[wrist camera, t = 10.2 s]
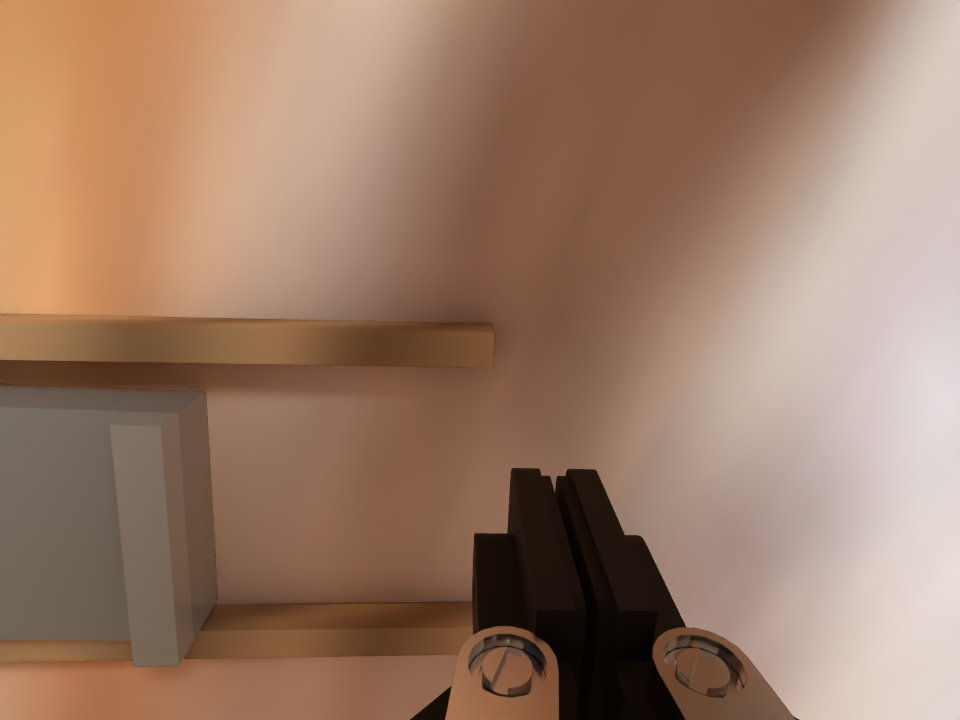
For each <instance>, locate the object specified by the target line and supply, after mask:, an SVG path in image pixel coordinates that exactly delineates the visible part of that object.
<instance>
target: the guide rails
mask: <svg viewBox="0 0 960 720" xmlns="http://www.w3.org/2000/svg"><path fill="white" fill-rule="evenodd" d="M494 343H495V331H494V329H493V327H492V324H464V323H417V322H370V321H323V320H275V319H228V318H181V317H134V316H87V315H40V314H0V360H44V361H105V362H166V363H228V364H289V365H351V366H412V367H474V368H494ZM471 636H473V618H472V602H468V603H370V604H273V605H214V607H213V608H212V610H211V612H210V614H209V615H208V617H207V619H206V621H205V622H204V624H203V626H202V628H201V629H200V631H199V633H198V634H197V636H196V638H195V640H194V641H193V643H192V645H191V647H190V648H189V650H188V652H187V654H186V655H185V657H184V659H216V658H278V657H340V656H402V655H459V653H460V650H461V648H462V646H463V644H464V643H465V642H466V641H467V640H468V639H469V638H470V637H471ZM93 660H133V657H132V647H131V641H107V640H0V662H31V661H93Z"/></svg>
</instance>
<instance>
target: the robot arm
mask: <svg viewBox="0 0 960 720" xmlns="http://www.w3.org/2000/svg"><path fill="white" fill-rule="evenodd" d="M472 618H473V636H471V637H470V638H469V639H468V640H467V641H466V642H465V643H464V644H463V646H462V648H461V650H460V653H459V655H458V658H457V663H456V668H455V673H454V678H453V683H452V686H451V687H449V688H448V689H447V690H446V691H445V692H443V693H442V694H441V695H440V696H438V697H437V698H436V699H435V700H434V701H432V702H431V703H430V704H429V705H428V706H426V707H425V708H424V709H423V710H421V711H420V712H419V713H418V714H417V715H415V716H414V717H413V718H412V719H410V720H799V719H797V718H795V717H794V716H793V715H792V714H791V713H790V711H789V710H788V709H787V707H786V706H785V705H784V703H783V702H782V701H781V700H780V698H779V697H778V696H777V694H776V693H775V692H774V690H773V689H772V688H771V687H770V685H769V684H768V683H767V681H766V680H765V679H764V677H763V676H762V675H761V673H760V672H759V671H758V670H757V668H756V667H755V666H754V664H753V663H752V662H751V660H750V659H749V658H748V657H747V656H746V655H745V654H744V653H743V652H742V651H741V650H740V649H739V648H738V647H737V646H736V645H734V644H733V643H731V642H730V641H728V640H727V639H725V638H724V637H721V636H719V635H717V634H715V633H712V632H710V631H706V630H702V629H698V628H686V626H685V624H684V622H683V620H682V618H681V615H680V613H679V611H678V609H677V607H676V605H675V603H674V601H673V599H672V597H671V595H670V593H669V591H668V589H667V586H666V584H665V582H664V580H663V578H662V576H661V574H660V572H659V570H658V568H657V566H656V564H655V562H654V560H653V558H652V555H651V553H650V551H649V549H648V547H647V545H646V543H645V541H644V540H643V538H642V537H641V536H639V535H625V534H624V532H623V530H622V528H621V525H620V523H619V521H618V519H617V516H616V514H615V512H614V509H613V507H612V505H611V503H610V500H609V498H608V496H607V493H606V491H605V489H604V487H603V484H602V482H601V480H600V477H599V475H598V473H597V471H596V470H594V469H568V470H567V472H566V476H557V479H556V488H555V492H554V488H553V485H552V481H551V478H550V476H541V472H540V469H534V468H512V470H511V479H510V497H509V514H508V532H507V534H488V533H475V534H474V549H473V581H472Z"/></svg>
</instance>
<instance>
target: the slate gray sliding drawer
mask: <svg viewBox="0 0 960 720" xmlns="http://www.w3.org/2000/svg"><path fill="white" fill-rule="evenodd" d="M217 600H218V589H217V571H216V554H215V537H214V520H213V502H212V485H211V468H210V451H209V433H208V416H207V399H206V392H201V391H174V390H147V389H120V388H93V387H66V386H39V385H12V384H0V640H107V641H131V647H132V657H133V667H179V666H180V664H181V662H182V660H183V659H184V657H185V655H186V654H187V652H188V650H189V648H190V647H191V645H192V643H193V641H194V640H195V638H196V636H197V634H198V633H199V631H200V629H201V628H202V626H203V624H204V622H205V621H206V619H207V617H208V615H209V614H210V612H211V610H212V608H213V607H214V605H215V603H216V602H217Z"/></svg>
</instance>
